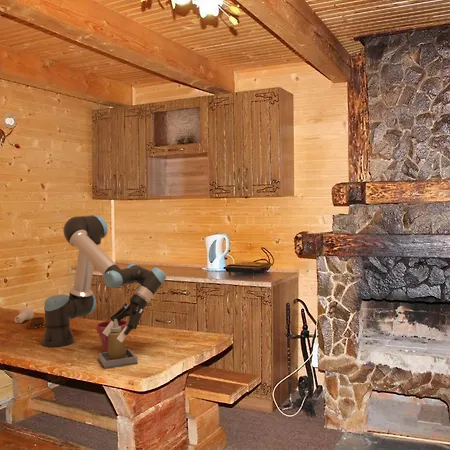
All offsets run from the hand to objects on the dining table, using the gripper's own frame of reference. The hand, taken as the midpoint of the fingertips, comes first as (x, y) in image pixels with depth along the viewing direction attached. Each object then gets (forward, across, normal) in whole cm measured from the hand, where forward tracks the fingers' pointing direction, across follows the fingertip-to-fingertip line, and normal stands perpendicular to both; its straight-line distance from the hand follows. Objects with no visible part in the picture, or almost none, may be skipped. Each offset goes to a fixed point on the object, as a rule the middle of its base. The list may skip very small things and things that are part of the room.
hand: (111, 337), depth 229 cm
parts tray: (+6, 0, -10) cm, 11 cm away
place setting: (+8, +89, -9) cm, 89 cm away
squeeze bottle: (+6, 0, -9) cm, 11 cm away
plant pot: (+2, +18, -14) cm, 23 cm away
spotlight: (+10, +109, -6) cm, 110 cm away
